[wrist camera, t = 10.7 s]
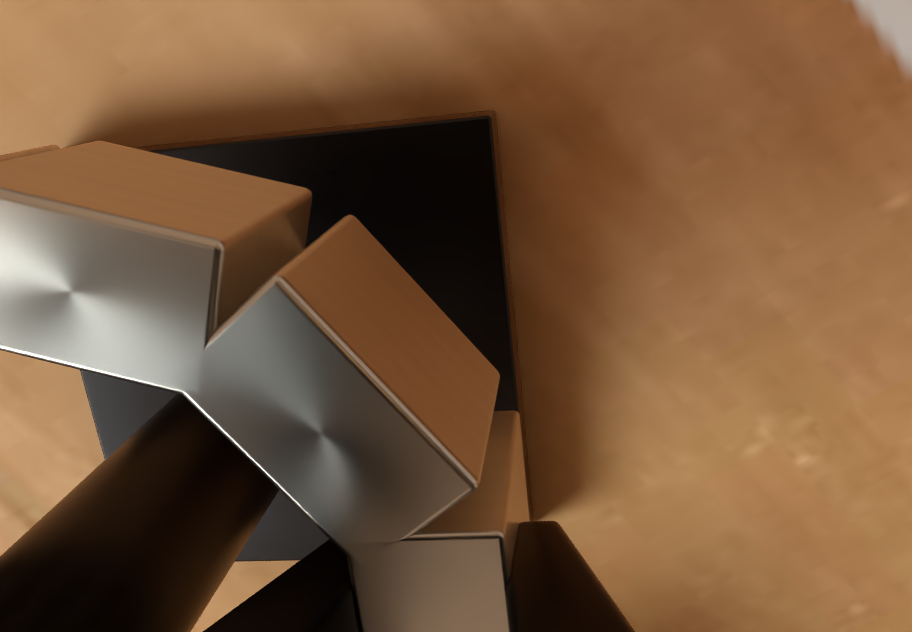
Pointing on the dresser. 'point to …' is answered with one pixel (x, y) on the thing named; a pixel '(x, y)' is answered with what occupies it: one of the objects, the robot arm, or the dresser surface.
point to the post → (202, 445)
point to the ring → (279, 361)
